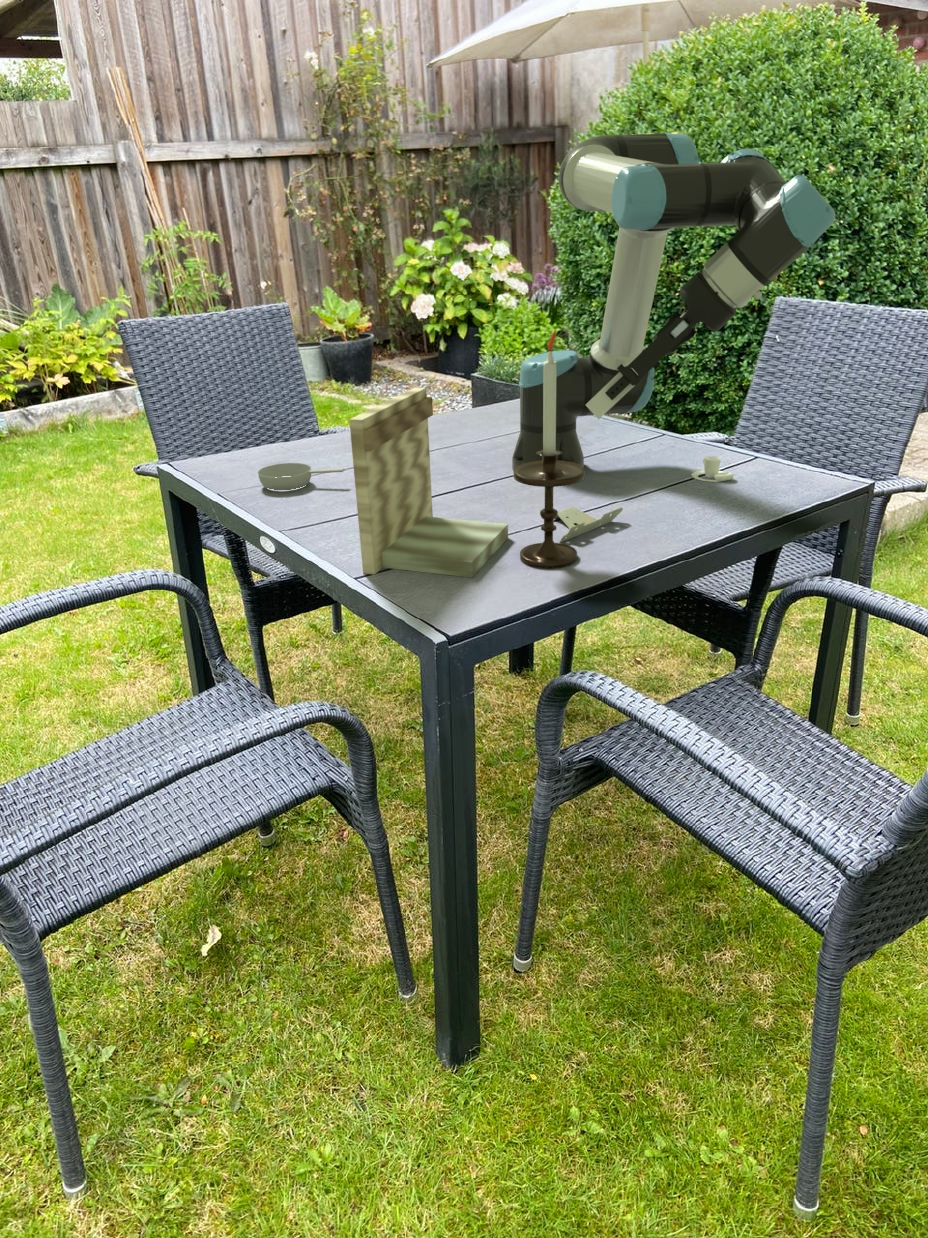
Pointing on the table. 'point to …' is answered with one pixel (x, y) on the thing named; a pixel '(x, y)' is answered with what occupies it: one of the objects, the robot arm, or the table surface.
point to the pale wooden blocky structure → (409, 496)
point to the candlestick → (549, 479)
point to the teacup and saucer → (713, 470)
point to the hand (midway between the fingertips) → (602, 401)
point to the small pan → (295, 470)
